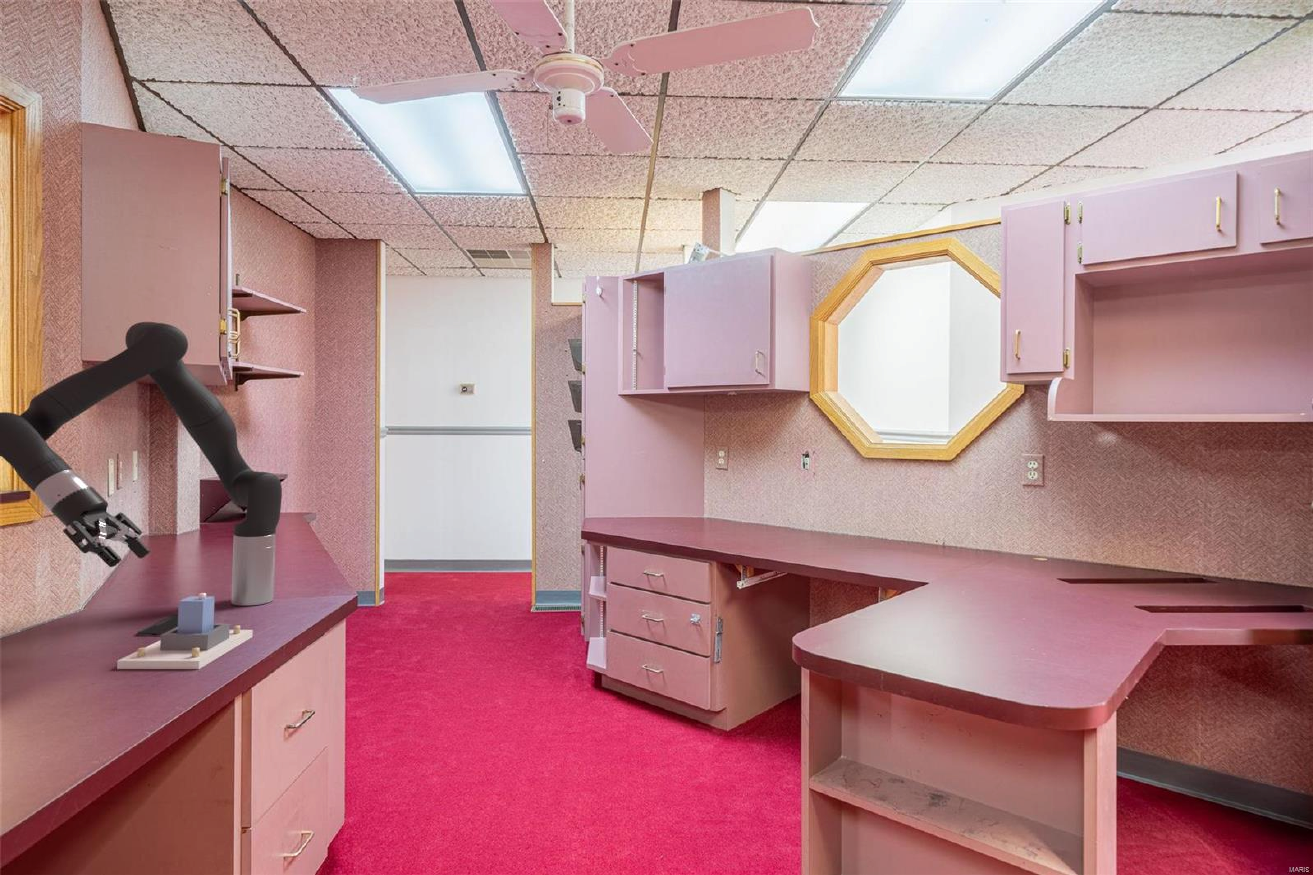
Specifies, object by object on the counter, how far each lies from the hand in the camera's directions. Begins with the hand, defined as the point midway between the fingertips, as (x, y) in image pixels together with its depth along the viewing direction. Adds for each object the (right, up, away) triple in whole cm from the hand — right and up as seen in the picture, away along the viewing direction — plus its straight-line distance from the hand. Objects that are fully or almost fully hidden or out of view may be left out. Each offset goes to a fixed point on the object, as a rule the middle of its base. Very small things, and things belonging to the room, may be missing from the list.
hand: (131, 559), depth 134 cm
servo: (+12, -17, 0) cm, 21 cm away
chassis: (+11, -18, 0) cm, 21 cm away
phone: (-4, -18, +17) cm, 25 cm away
